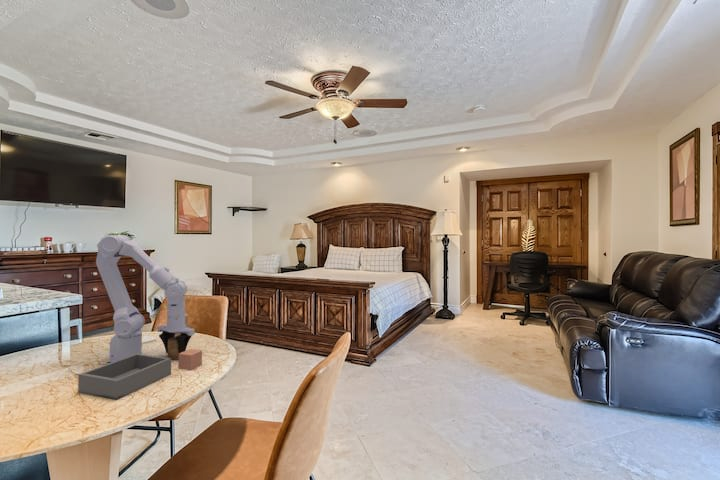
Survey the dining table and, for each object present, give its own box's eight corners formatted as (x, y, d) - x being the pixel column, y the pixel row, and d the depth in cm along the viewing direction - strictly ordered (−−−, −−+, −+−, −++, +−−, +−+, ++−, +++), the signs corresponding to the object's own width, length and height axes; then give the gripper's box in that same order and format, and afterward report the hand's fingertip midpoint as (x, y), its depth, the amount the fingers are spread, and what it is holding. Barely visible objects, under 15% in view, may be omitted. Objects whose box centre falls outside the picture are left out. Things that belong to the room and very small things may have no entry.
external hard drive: (156, 342, 142) (123, 350, 131) (146, 339, 146) (113, 346, 136) (156, 338, 142) (123, 346, 131) (146, 335, 146) (113, 342, 136)
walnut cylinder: (164, 359, 122) (164, 339, 121) (175, 354, 126) (175, 335, 126) (175, 361, 120) (175, 341, 120) (186, 356, 125) (186, 337, 125)
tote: (78, 392, 96) (78, 374, 95) (136, 368, 113) (136, 353, 113) (116, 399, 92) (116, 381, 92) (171, 374, 109) (171, 358, 109)
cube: (178, 368, 114) (178, 353, 114) (189, 363, 118) (189, 348, 118) (190, 370, 112) (191, 355, 112) (201, 365, 117) (202, 350, 117)
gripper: (200, 314, 125) (200, 351, 125) (168, 311, 129) (168, 347, 129) (186, 319, 118) (185, 358, 118) (152, 315, 122) (152, 353, 122)
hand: (175, 353), depth 123 cm, fingers closed on walnut cylinder, 5 cm apart
